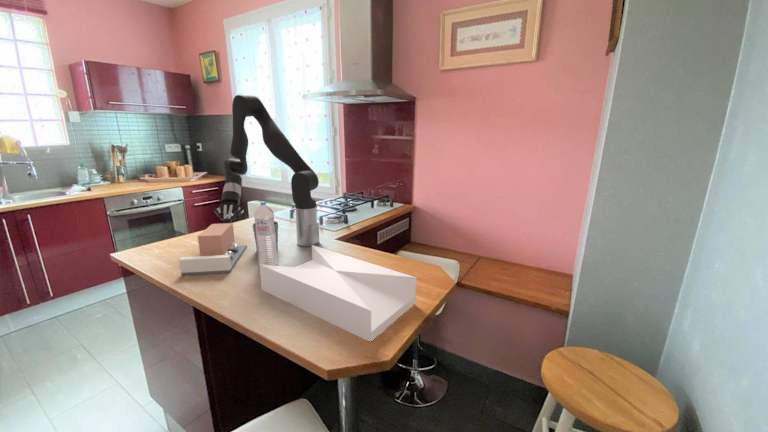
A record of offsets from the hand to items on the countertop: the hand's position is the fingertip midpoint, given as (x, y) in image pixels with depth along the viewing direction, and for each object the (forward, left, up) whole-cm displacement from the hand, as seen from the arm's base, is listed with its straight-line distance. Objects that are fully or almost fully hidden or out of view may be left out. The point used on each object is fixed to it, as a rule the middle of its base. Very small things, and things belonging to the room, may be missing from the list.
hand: (226, 227), depth 138 cm
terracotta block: (-7, +11, -5) cm, 14 cm away
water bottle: (-30, +10, -9) cm, 33 cm away
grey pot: (-19, -3, -9) cm, 21 cm away
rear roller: (-5, +8, -8) cm, 12 cm away
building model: (-65, +22, -9) cm, 69 cm away
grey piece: (-8, +13, -9) cm, 18 cm away
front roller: (-9, +15, -8) cm, 19 cm away
